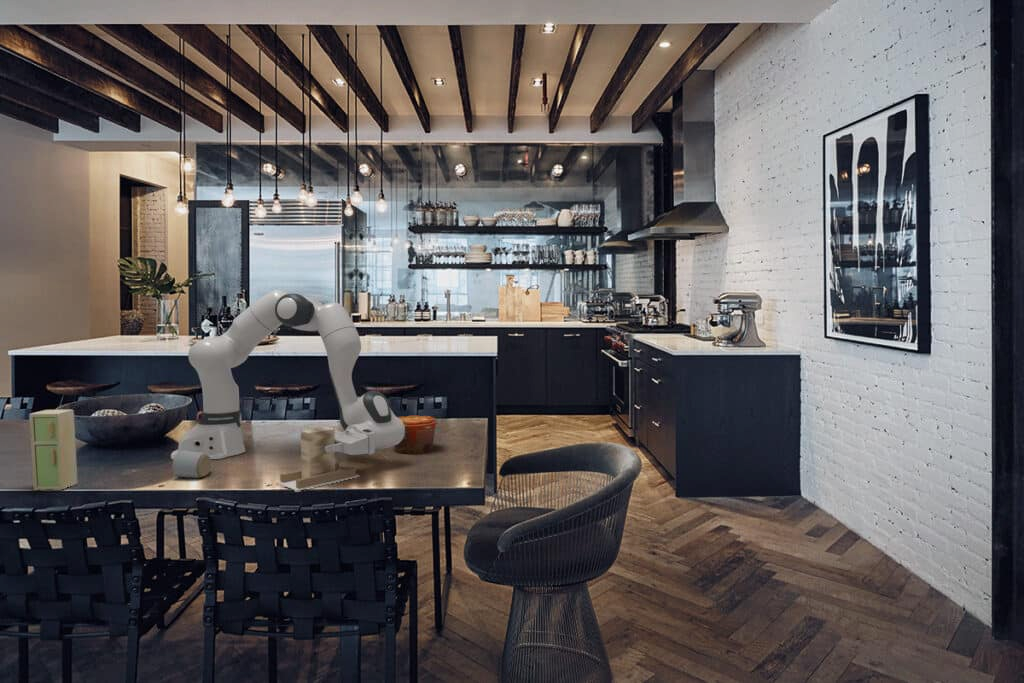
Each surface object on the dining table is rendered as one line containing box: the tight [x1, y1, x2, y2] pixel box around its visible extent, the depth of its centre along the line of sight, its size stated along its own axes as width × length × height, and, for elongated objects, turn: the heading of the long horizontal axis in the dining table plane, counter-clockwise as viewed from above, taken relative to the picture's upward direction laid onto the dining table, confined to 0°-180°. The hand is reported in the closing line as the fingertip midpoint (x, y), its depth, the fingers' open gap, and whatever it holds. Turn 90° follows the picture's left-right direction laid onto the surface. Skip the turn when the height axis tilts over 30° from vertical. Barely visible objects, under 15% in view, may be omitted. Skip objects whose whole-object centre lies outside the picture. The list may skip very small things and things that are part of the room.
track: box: [275, 461, 361, 493], centre depth 188 cm, size 20×11×3 cm, turn 137°
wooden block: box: [300, 426, 336, 478], centre depth 188 cm, size 8×4×14 cm, turn 137°
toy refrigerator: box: [28, 409, 78, 491], centre depth 180 cm, size 8×7×21 cm
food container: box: [393, 415, 438, 455], centre depth 227 cm, size 16×16×11 cm
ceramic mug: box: [171, 451, 213, 479], centre depth 193 cm, size 11×8×8 cm
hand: (315, 446), depth 187 cm, fingers open, 8 cm apart
